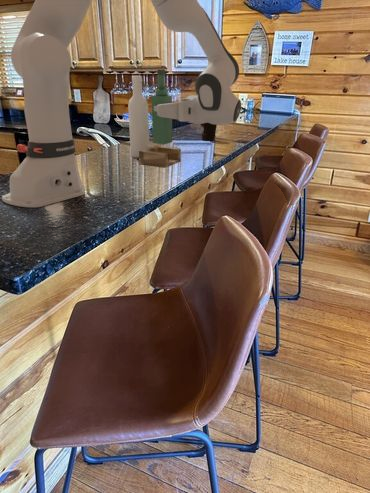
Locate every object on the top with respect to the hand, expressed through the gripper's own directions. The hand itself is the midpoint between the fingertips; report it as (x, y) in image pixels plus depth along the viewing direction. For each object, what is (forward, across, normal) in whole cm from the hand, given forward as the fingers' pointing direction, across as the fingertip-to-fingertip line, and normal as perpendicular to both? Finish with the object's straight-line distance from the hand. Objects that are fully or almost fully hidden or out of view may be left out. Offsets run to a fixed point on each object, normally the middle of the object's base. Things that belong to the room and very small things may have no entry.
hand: (159, 107), depth 128 cm
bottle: (+14, -7, +20) cm, 25 cm away
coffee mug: (+7, -59, +20) cm, 63 cm away
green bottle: (-1, 0, +12) cm, 12 cm away
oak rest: (0, 0, +20) cm, 20 cm away
